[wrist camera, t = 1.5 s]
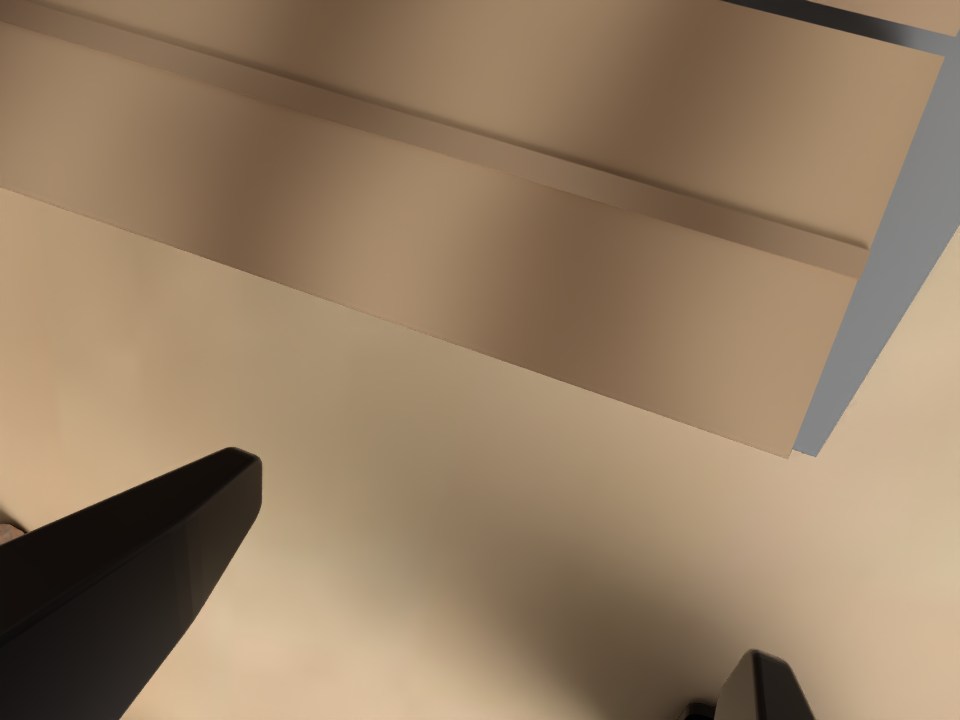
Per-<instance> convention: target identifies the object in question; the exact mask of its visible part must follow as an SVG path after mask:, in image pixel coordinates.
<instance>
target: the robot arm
mask: <svg viewBox="0 0 960 720" xmlns="http://www.w3.org/2000/svg"><path fill="white" fill-rule="evenodd" d="M261 504H262V461H261V459H260V458H259V457H258V456H257V455H255V454H252V453H249V452H247V451H244V450H242V449H239V448H236V447H228V448H224V449H222V450H220V451H217V452H215V453H213V454H210V455H208V456H206V457H203V458H201V459H199V460H196V461H194V462H192V463H189V464H187V465H185V466H182V467H180V468H178V469H175V470H173V471H171V472H168V473H166V474H164V475H161V476H159V477H157V478H154V479H152V480H150V481H147V482H145V483H143V484H140V485H138V486H136V487H133V488H131V489H129V490H126V491H124V492H122V493H119V494H117V495H115V496H112V497H110V498H108V499H105V500H103V501H101V502H98V503H96V504H94V505H91V506H89V507H87V508H84V509H82V510H80V511H77V512H75V513H73V514H70V515H68V516H66V517H63V518H61V519H59V520H56V521H54V522H52V523H49V524H47V525H45V526H42V527H40V528H38V529H35V530H33V531H31V532H28V533H26V534H24V535H21V536H19V537H17V538H14V539H12V540H10V541H7V542H5V543H3V544H0V720H119V719H120V718H121V717H122V715H123V714H124V713H125V711H126V710H127V709H128V708H129V706H130V705H131V704H132V702H133V701H134V700H135V698H136V697H137V696H138V694H139V693H140V692H141V690H142V689H143V688H144V687H145V685H146V684H147V683H148V681H149V680H150V679H151V677H152V676H153V675H154V673H155V672H156V671H157V669H158V668H159V667H160V666H161V664H162V663H163V662H164V660H165V659H166V658H167V656H168V655H169V654H170V652H171V651H172V650H173V648H174V647H175V646H176V644H177V643H178V642H179V641H180V639H181V638H182V637H183V635H184V634H185V632H186V631H187V630H188V628H189V627H190V625H191V624H192V623H193V621H194V620H195V618H196V617H197V615H198V614H199V612H200V610H201V609H202V607H203V606H204V604H205V602H206V601H207V599H208V598H209V596H210V594H211V593H212V591H213V589H214V588H215V586H216V584H217V583H218V581H219V579H220V578H221V576H222V574H223V573H224V571H225V569H226V568H227V566H228V564H229V563H230V561H231V559H232V558H233V556H234V555H235V553H236V551H237V550H238V548H239V546H240V545H241V543H242V541H243V540H244V538H245V536H246V535H247V533H248V531H249V530H250V528H251V526H252V525H253V523H254V521H255V520H256V518H257V516H258V514H259V511H260V508H261ZM678 720H816V719H815V717H814V714H813V712H812V710H811V708H810V706H809V704H808V702H807V700H806V698H805V695H804V693H803V691H802V689H801V687H800V685H799V683H798V681H797V679H796V677H795V674H794V672H793V670H792V668H791V667H790V665H789V664H788V663H787V662H786V661H784V660H783V659H781V658H778V657H776V656H773V655H771V654H768V653H765V652H763V651H760V650H758V649H750V650H749V651H747V652H746V653H745V654H744V656H743V657H742V659H741V660H740V662H739V663H738V665H737V666H736V668H735V669H734V670H733V672H732V673H731V675H730V676H729V678H728V679H727V681H726V682H725V684H724V685H723V687H722V689H721V691H720V694H719V697H718V701H717V705H716V709H715V708H713V707H711V706H708V705H705V704H702V703H692V704H689V705H688V706H687V707H686V708H685V710H684V711H683V713H682V714H681V716H680V717H679V719H678Z"/></svg>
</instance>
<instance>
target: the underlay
mask: <svg viewBox="0 0 960 720" xmlns="http://www.w3.org/2000/svg"><path fill="white" fill-rule="evenodd" d="M720 1H724V2H728V3H732V4H736V5H740V6H744V7H748V8H752V9H756V10H760V11H764V12H768V13H772V14H776V15H780V16H784V17H788V18H792V19H796V20H800V21H804V22H808V23H812V24H816V25H820V26H824V27H828V28H832V29H836V30H840V31H844V32H848V33H852V34H856V35H860V36H864V37H868V38H872V39H876V40H880V41H884V42H888V43H892V44H896V45H900V46H904V47H908V48H912V49H916V50H920V51H924V52H928V53H932V54H936V55H940V56H944V57H945V58H944V60H943V63H942V65H941V68H940V71H939V73H938V76H937V78H936V81H935V83H934V86H933V89H932V91H931V94H930V96H929V99H928V101H927V104H926V107H925V109H924V112H923V114H922V117H921V119H920V122H919V125H918V127H917V130H916V132H915V135H914V137H913V140H912V142H911V145H910V148H909V150H908V153H907V155H906V158H905V160H904V163H903V166H902V168H901V171H900V173H899V176H898V178H897V181H896V184H895V186H894V189H893V191H892V194H891V196H890V199H889V201H888V204H887V207H886V209H885V212H884V214H883V217H882V219H881V222H880V225H879V227H878V230H877V232H876V235H875V237H874V240H873V243H872V245H871V248H870V250H871V252H870V255H869V258H868V260H867V263H866V265H865V268H864V270H863V273H862V275H861V278H860V280H858V281H857V284H856V286H855V289H854V291H853V294H852V296H851V299H850V302H849V304H848V307H847V309H846V312H845V314H844V317H843V320H842V322H841V325H840V327H839V330H838V332H837V335H836V337H835V340H834V343H833V345H832V348H831V350H830V353H829V355H828V358H827V361H826V363H825V366H824V368H823V371H822V373H821V376H820V379H819V381H818V384H817V386H816V389H815V391H814V394H813V397H812V399H811V402H810V404H809V407H808V409H807V412H806V414H805V417H804V420H803V422H802V425H801V427H800V430H799V432H798V435H797V438H796V440H795V443H794V445H793V448H792V449H793V450H796V451H799V452H802V453H805V454H808V455H811V456H814V457H816V456H817V455H818V453H819V451H820V450H821V448H822V446H823V445H824V443H825V442H826V440H827V438H828V437H829V435H830V433H831V432H832V430H833V429H834V427H835V425H836V424H837V422H838V421H839V419H840V417H841V416H842V414H843V412H844V411H845V409H846V408H847V406H848V404H849V403H850V401H851V400H852V398H853V396H854V395H855V393H856V391H857V390H858V388H859V387H860V385H861V383H862V382H863V380H864V379H865V377H866V375H867V374H868V372H869V370H870V369H871V367H872V366H873V364H874V362H875V361H876V359H877V358H878V356H879V354H880V353H881V351H882V349H883V348H884V346H885V345H886V343H887V341H888V340H889V338H890V336H891V335H892V333H893V332H894V330H895V328H896V327H897V325H898V324H899V322H900V320H901V319H902V317H903V315H904V314H905V312H906V311H907V309H908V307H909V306H910V304H911V303H912V301H913V299H914V298H915V296H916V294H917V293H918V291H919V290H920V288H921V286H922V285H923V283H924V282H925V280H926V278H927V277H928V275H929V273H930V272H931V270H932V269H933V267H934V265H935V264H936V262H937V260H938V259H939V257H940V256H941V254H942V252H943V251H944V249H945V248H946V246H947V244H948V243H949V241H950V239H951V238H952V236H953V235H954V233H955V231H956V230H957V228H958V227H959V225H960V29H959V31H958V33H957V35H956V37H953V36H949V35H945V34H941V33H937V32H933V31H929V30H925V29H921V28H917V27H913V26H908V25H904V24H900V23H896V22H892V21H888V20H884V19H880V18H876V17H872V16H868V15H864V14H859V13H855V12H851V11H847V10H843V9H839V8H835V7H831V6H827V5H823V4H819V3H815V2H811V1H806V0H720Z"/></svg>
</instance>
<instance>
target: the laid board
mask: <svg viewBox="0 0 960 720" xmlns="http://www.w3.org/2000/svg"><path fill="white" fill-rule="evenodd" d="M806 1H811V2H815V3H819V4H823V5H827V6H831V7H835V8H839V9H843V10H847V11H851V12H855V13H859V14H864V15H868V16H872V17H876V18H880V19H884V20H888V21H892V22H896V23H900V24H904V25H908V26H913V27H917V28H921V29H925V30H929V31H933V32H937V33H941V34H945V35H949V36H953V37H956V35H957V33H958V31H959V29H960V0H806Z"/></svg>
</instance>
